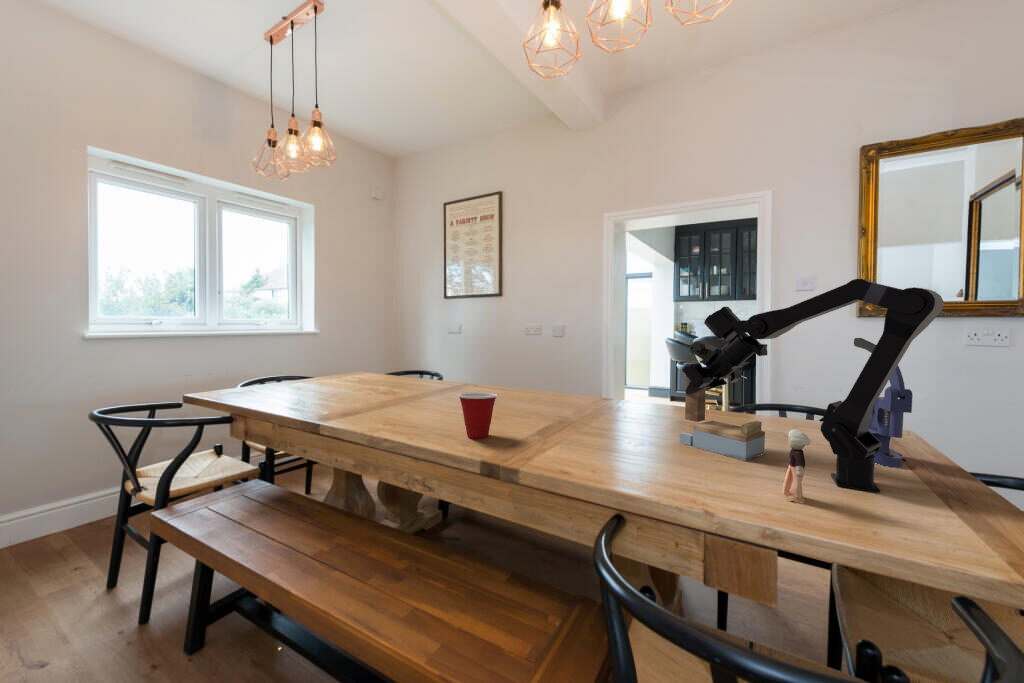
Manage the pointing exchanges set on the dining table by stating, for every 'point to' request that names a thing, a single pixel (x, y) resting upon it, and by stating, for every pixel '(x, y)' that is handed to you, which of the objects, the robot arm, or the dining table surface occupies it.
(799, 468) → the grandmother figurine
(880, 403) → the hand press
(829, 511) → the dining table surface
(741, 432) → the lid
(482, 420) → the plastic cup
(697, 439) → the grey storage box
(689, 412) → the brown wooden block
